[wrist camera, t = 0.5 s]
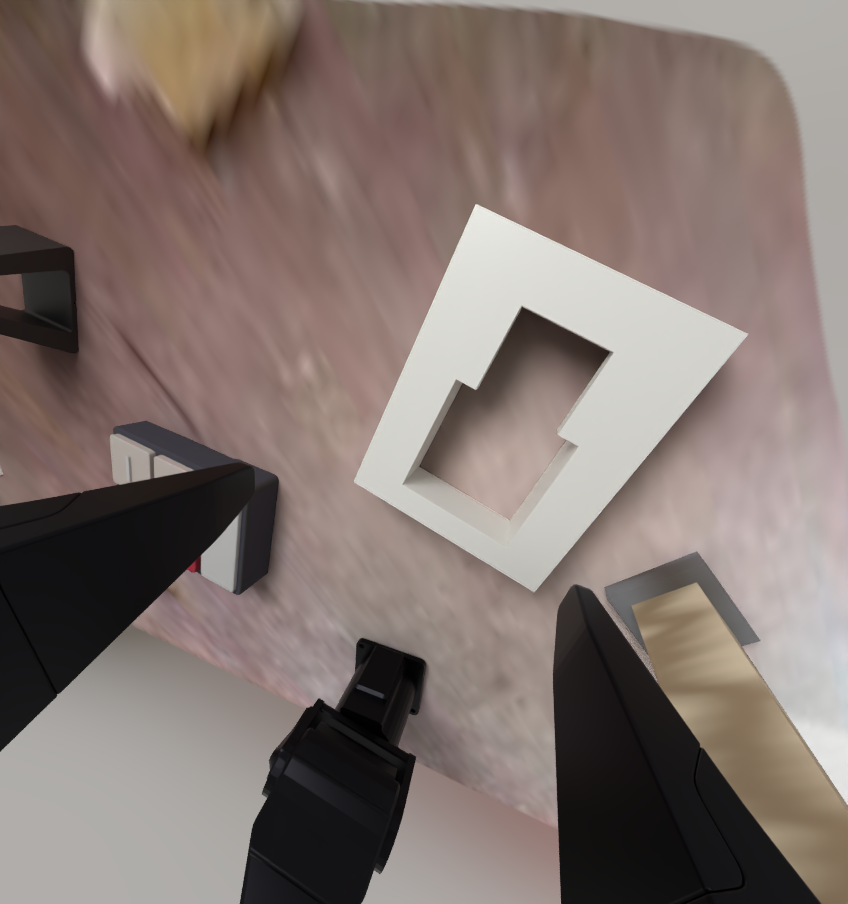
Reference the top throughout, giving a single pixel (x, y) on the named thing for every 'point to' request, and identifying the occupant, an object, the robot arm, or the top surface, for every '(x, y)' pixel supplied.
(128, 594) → the robot arm
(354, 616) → the top surface
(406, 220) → the top surface
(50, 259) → the phone stand
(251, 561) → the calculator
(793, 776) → the keyhole post
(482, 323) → the keyhole plate
